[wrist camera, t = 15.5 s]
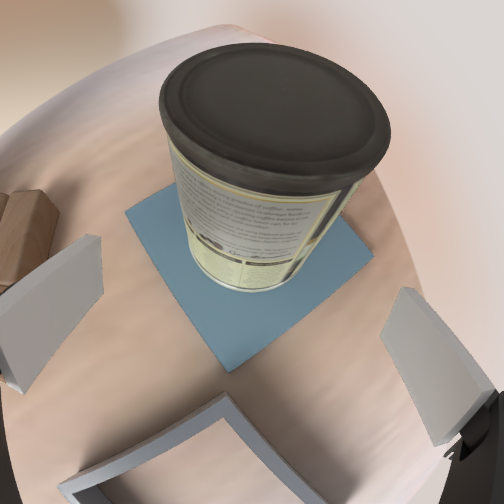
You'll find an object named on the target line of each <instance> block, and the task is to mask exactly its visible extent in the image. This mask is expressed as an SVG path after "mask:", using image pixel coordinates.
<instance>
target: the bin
mask: <svg viewBox="0 0 504 504" xmlns="http://www.w3.org/2000/svg"><path fill="white" fill-rule="evenodd" d="M222 417H224V419H225V420H226V421H227V422H228V423H229V425H230V426H231V427H232V428H233V429H234V431H235V432H236V433H237V434H238V435H239V436H240V438H241V439H242V440H243V441H244V442H245V443H246V444H247V445H248V447H249V448H250V449H251V450H252V451H253V452H254V453H255V454H256V455H257V456H258V458H259V459H260V460H261V461H262V462H263V463H264V464H265V465H266V466H267V467H268V468H269V469H270V470H271V471H272V472H273V473H274V474H275V475H276V476H277V477H278V478H279V479H280V480H281V481H282V482H283V483H284V484H285V485H286V486H287V487H288V488H289V489H290V490H291V491H292V492H293V493H294V494H296V495H297V496H298V497H299V498H300V499H301V500H302V501H303V502H304V503H305V504H329V503H328V502H327V501H326V500H325V499H324V498H323V497H322V496H321V495H320V494H319V493H317V492H316V491H315V490H314V489H313V488H312V487H311V486H310V485H309V484H308V483H307V482H306V481H305V480H304V479H303V478H302V477H301V476H300V475H299V474H298V473H297V472H296V471H295V470H294V469H293V468H292V467H291V466H290V465H289V464H288V463H287V462H286V461H285V460H284V459H283V457H282V456H281V455H280V454H279V453H278V452H277V451H276V450H275V449H274V448H273V447H272V446H271V444H270V443H269V442H268V441H267V440H266V439H265V438H264V437H263V435H262V434H261V433H260V432H259V431H258V430H257V429H256V427H255V426H254V425H253V424H252V423H251V422H250V420H249V419H248V418H247V417H246V416H245V414H244V413H243V412H242V411H241V410H240V408H239V407H238V406H237V405H236V403H235V402H234V401H233V400H232V398H231V397H230V396H229V395H228V393H227V392H226V391H224V392H222V393H221V394H219V395H218V396H216V397H215V398H213V399H212V400H210V401H209V402H207V403H206V404H204V405H203V406H201V407H200V408H198V409H196V410H195V411H193V412H192V413H190V414H188V415H187V416H185V417H183V418H182V419H180V420H179V421H177V422H175V423H174V424H172V425H170V426H168V427H167V428H165V429H163V430H162V431H160V432H158V433H156V434H155V435H153V436H151V437H149V438H147V439H145V440H144V441H142V442H140V443H138V444H136V445H134V446H132V447H131V448H129V449H127V450H125V451H123V452H121V453H119V454H117V455H115V456H113V457H111V458H109V459H107V460H105V461H102V462H100V463H98V464H96V465H94V466H92V467H89V468H87V469H85V470H83V471H80V472H78V473H76V474H75V475H73V476H72V477H70V478H68V479H67V480H65V481H63V482H62V483H60V484H59V485H57V488H58V489H59V490H60V492H61V493H62V494H63V495H64V497H65V498H66V499H67V500H68V502H69V503H70V504H112V503H111V501H110V500H109V499H108V498H107V497H106V496H105V495H104V493H103V492H102V491H101V490H100V489H99V487H98V486H97V485H96V484H99V483H101V482H104V481H106V480H108V479H111V478H113V477H115V476H117V475H120V474H122V473H124V472H126V471H128V470H130V469H133V468H135V467H137V466H139V465H141V464H143V463H145V462H147V461H149V460H151V459H153V458H154V457H156V456H158V455H160V454H162V453H164V452H166V451H168V450H169V449H171V448H173V447H175V446H177V445H178V444H180V443H182V442H184V441H185V440H187V439H189V438H190V437H192V436H194V435H195V434H197V433H199V432H200V431H202V430H204V429H205V428H207V427H208V426H210V425H212V424H213V423H215V422H216V421H218V420H219V419H221V418H222Z"/></svg>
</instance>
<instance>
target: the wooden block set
mask: <svg viewBox="0 0 504 504" xmlns="http://www.w3.org/2000/svg"><path fill="white" fill-rule="evenodd" d="M58 217H59V211H58V209H57V208H56V207H55V206H54V205H53V203H52V202H51V201H50V200H49V198H48V197H47V196H46V194H45V193H44V192H43V191H42V190H39V189H38V190H28V191H18V192H13V193H11V195H10V196H9V195H7V194H4V193H0V293H1V292H2V293H3V291H4V290H5V289H6V288H7V287H9V286H10V285H11V284H13V283H15V282H17V281H20V280H21V279H23V278H24V277H25V276H27V275H28V274H29V273H31V272H32V271H33V270H35V269H36V268H37V267H39V266H40V265H41V264H43V263H44V262H46V261H47V260H48V256H49V251H50V247H51V243H52V239H53V235H54V231H55V228H56V224H57V221H58ZM0 381H2V382H5V383H6V381H5V379H4V377H3V375H2V373H1V375H0Z"/></svg>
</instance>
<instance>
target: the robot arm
mask: <svg viewBox="0 0 504 504" xmlns="http://www.w3.org/2000/svg"><path fill="white" fill-rule="evenodd" d="M103 294H104V289H103V276H102V258H101V237H100V236H95V235H89V234H86V235H84V236H83V237H81V238H79V239H78V240H76V241H75V242H73V243H72V244H70V245H69V246H67V247H66V248H64V249H63V250H61V251H60V252H59V253H57V254H56V255H54V256H53V257H51V258H50V259H48V260H47V261H46V262H44V263H43V264H41V265H40V266H39V267H37V268H36V269H35V270H33V271H32V272H31V273H29V274H28V275H27V276H25V277H24V278H23V279H21V280H20V281H17V282H15V283H13V284H11V285H10V286H9V287H7V288H6V289H5V290H4V291H3V293H2V292H1V293H0V375H1V373H2V375H3V377H4V379H5V381H6V383H7V384H8V386H9V387H11V388H13V389H14V390H16V391H18V392H19V393H21V394H23V395H25V393H26V392H27V390H28V389H29V387H30V386H31V384H32V383H33V382H34V380H35V379H36V377H37V376H38V375H39V373H40V372H41V371H42V369H43V368H44V366H45V365H46V364H47V362H48V361H49V360H50V358H51V357H52V356H53V354H54V353H55V352H56V351H57V349H58V348H59V347H60V345H61V344H62V343H63V342H64V340H65V339H66V338H67V337H68V335H69V334H70V333H71V332H72V330H73V329H74V328H75V327H76V325H77V324H78V323H79V322H80V321H81V319H82V318H83V317H84V316H85V315H86V313H87V312H88V311H89V310H90V309H91V308H92V306H93V305H94V304H95V303H96V302H97V301H98V299H99V298H100V297H101V296H102V295H103ZM380 337H381V339H382V341H383V343H384V345H385V347H386V348H387V350H388V352H389V354H390V356H391V358H392V360H393V362H394V364H395V365H396V367H397V369H398V371H399V373H400V375H401V377H402V379H403V381H404V383H405V385H406V387H407V389H408V391H409V393H410V395H411V397H412V399H413V401H414V403H415V405H416V408H417V410H418V412H419V414H420V416H421V418H422V420H423V423H424V425H425V427H426V429H427V431H428V434H429V436H430V438H431V441H432V443H433V445H434V447H435V446H439V445H442V444H445V443H449V442H450V441H451V440H452V439H453V438H454V436H456V435H457V434H458V433H459V432H460V434H461V436H462V437H461V438H460V439H459V440H458V441H457V442H456V443H455V444H454V445H453V446H452V447H451V448H450V449H449V450H448V451H447V452H446V453H445V454H444V456H443V457H447V456H448V455H449V454H450V453H451V452H454V454H453V455H452V456H451V457H449V459H450V460H452V462H451V466H450V470H449V473H448V477H447V480H446V483H445V487H444V490H443V493H442V495H441V498H440V501H439V504H504V391H502V392H501V393H500V394H499V393H498V391H497V390H496V389H495V387H494V385H493V384H492V382H491V381H490V380H489V378H488V377H487V375H486V374H485V373H484V371H483V370H482V369H481V367H480V366H479V365H478V363H477V362H476V361H475V360H474V358H473V357H472V355H471V354H470V353H469V352H468V351H467V349H466V348H465V347H464V345H463V344H462V343H461V342H460V340H459V339H458V338H457V337H456V335H454V333H453V332H452V331H451V329H450V328H449V327H448V326H447V325H446V323H445V322H444V321H443V320H442V319H441V318H440V317H439V315H438V314H437V313H436V312H435V311H434V310H433V309H432V307H431V306H430V305H429V304H428V303H427V302H426V301H425V299H424V298H423V297H422V296H421V295H420V294H419V293H418V292H417V291H416V290H415V289H414V288H408V287H401V289H400V292H399V294H398V297H397V299H396V302H395V304H394V306H393V309H392V311H391V313H390V315H389V318H388V320H387V322H386V324H385V326H384V328H383V330H382V333H381V335H380ZM0 504H23V503H22V500H21V497H20V494H19V491H18V488H17V484H16V481H15V477H14V473H13V469H12V465H11V461H10V456H9V452H8V447H7V441H6V435H5V429H4V421H3V413H2V402H1V388H0Z"/></svg>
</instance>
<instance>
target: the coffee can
mask: <svg viewBox="0 0 504 504" xmlns="http://www.w3.org/2000/svg"><path fill="white" fill-rule="evenodd" d="M159 110H160V115H161V119H162V122H163V125H164V127H165V130H166V132H167V138H168V143H169V149H170V154H171V160H172V165H173V170H174V175H175V180H176V185H177V190H178V195H179V200H180V205H181V209H182V213H183V217H184V222H185V226H186V230H187V235H188V243H189V248H190V251H191V254H192V256H193V258H194V260H195V262H196V263H197V265H198V266H199V268H200V269H201V270H202V271H203V273H204V274H206V275H207V276H208V277H209V278H211V279H212V280H213V281H215V282H216V283H218V284H220V285H222V286H224V287H226V288H229V289H232V290H236V291H241V292H251V293H255V292H262V291H267V290H271V289H274V288H277V287H279V286H281V285H283V284H285V283H286V282H288V281H289V280H290V279H292V278H293V277H294V276H295V275H296V274H297V273H298V271H299V270H300V269H301V267H302V266H303V264H304V262H305V260H306V259H307V258H308V256H309V255H310V254H311V252H312V251H313V250H314V248H315V247H316V246H317V244H318V243H319V241H320V240H321V239H322V237H323V236H324V235H325V233H326V232H327V230H328V229H329V228H330V226H331V225H332V224H333V222H334V221H335V220H336V218H337V217H338V215H339V214H340V212H341V211H342V210H343V208H344V207H345V206H346V204H347V203H348V201H349V200H350V198H351V197H352V195H353V194H354V193H355V191H356V190H357V188H358V187H359V185H360V184H361V182H362V181H363V179H364V178H365V176H366V175H368V174H369V173H370V172H371V171H372V170H373V169H374V168H375V167H376V166H377V165H378V163H379V162H380V161H381V160H382V158H383V156H384V155H385V153H386V151H387V149H388V147H389V144H390V139H391V128H390V122H389V119H388V116H387V113H386V111H385V109H384V108H383V106H382V104H381V103H380V101H379V100H378V98H377V97H376V95H375V94H374V93H373V92H372V91H371V90H370V88H369V87H367V85H366V84H364V83H363V82H362V81H361V80H360V79H359V78H357V77H356V76H355V75H353V74H352V73H351V72H349V71H348V70H346V69H345V68H343V67H341V66H339V65H338V64H336V63H334V62H332V61H330V60H328V59H326V58H324V57H321V56H319V55H316V54H313V53H311V52H308V51H304V50H301V49H298V48H294V47H289V46H284V45H278V44H269V43H239V44H231V45H225V46H220V47H216V48H212V49H209V50H206V51H203V52H201V53H198V54H196V55H194V56H192V57H190V58H189V59H187V60H185V61H184V62H182V63H181V64H179V65H178V66H177V67H176V68H175V69H174V70H173V71H172V72H171V73H170V74H169V75H168V77H167V78H166V80H165V81H164V83H163V85H162V87H161V90H160V96H159Z"/></svg>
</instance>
